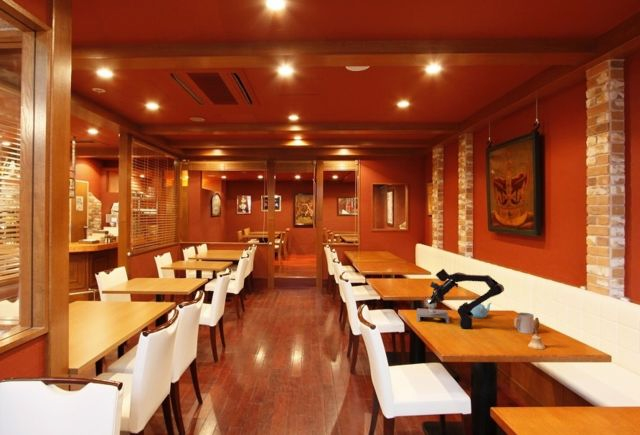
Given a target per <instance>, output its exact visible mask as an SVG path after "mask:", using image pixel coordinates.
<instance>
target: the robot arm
mask: <svg viewBox="0 0 640 435" xmlns="http://www.w3.org/2000/svg"><path fill="white" fill-rule="evenodd" d="M435 276H436V278H438V279H439V280H440V282H443V283H442V284H438V283H437V282H434V281H431V283H430V285H429V286H430V288H432V294H431V296H430V297H429V298H432V300H431V301H430V302H429V304H433V303H436V304H437V303H440V302H444V300H445V296H446V295H447V294H449V293H450V292H451V290H452V289H453V288H455V287H456V288H459V283H461V282H480V283H481V282H482V283H485V284H486V285H487V286H488V288H489V290H488V291H487V292H486V293H483V294H482V295H481V296H479V297H477V298H476V299H475V300H473V302H472V301H470V303H469V302H467V301H466V302H463V304H461V305H459V306H458V308H457V314H458V315H459V317H460V319H459V326H460V327H461V329H463V330H465V329H466V330H473V329H474V328H473V318H474V317H473V314H472V312H471V310H472V309H473V308H474V307H476V306H478V305H479V304H482V303H484V302H486V301H487V300H489V299H490V298H492V297H496V296H499V295H500V294H502V293H504V291H505V287H504V285H503V284H501V283H499V282H498V281H497V280H496V279H494V278H492V277H491V275H489V274H486V275H484V274H483V275H481V274H479V275H478V274H466V273H463V272H454V273H453V274H452V273H451V274H449V273H448V272H447V271H446V270H445V268H442V269H441V270H440V271H438V272H437V273H436V274H435Z"/></svg>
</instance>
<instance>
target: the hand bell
mask: <svg viewBox="0 0 640 435" xmlns="http://www.w3.org/2000/svg"><path fill="white" fill-rule="evenodd" d="M539 327H540V320H539V317H535V319H534V335H532V336H531V340H530V342H529V343H528V344H527V346H528V347H529V348H531V349H535V350H545V349H546V347H545V345H544V344H543V341H542V337H541V336H540V335H539Z"/></svg>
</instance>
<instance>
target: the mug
mask: <svg viewBox="0 0 640 435" xmlns="http://www.w3.org/2000/svg"><path fill="white" fill-rule="evenodd" d="M534 320H535V319H534V314H532V313H529V312H518V314H517V316H516V317H515V318H514V327H515V328H516V329H517V332H519V333H521V334H525V335H533V334H534V333H535V327H534Z"/></svg>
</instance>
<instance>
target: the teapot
mask: <svg viewBox="0 0 640 435" xmlns="http://www.w3.org/2000/svg"><path fill="white" fill-rule="evenodd" d="M473 301H474V300H473V299H470V302H473ZM491 304H492V302H489V303H487V306H486V307H485V305H484V303H483V304H482V303H481V304H479V305H478V306H476V307H474V308H473V309H472V310H471V312H472V314H473V317H472V318H475V319H485V318H487V316H488V314H489V312H490V306H491Z"/></svg>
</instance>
